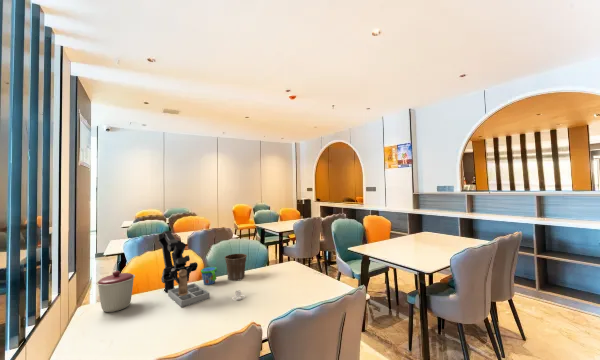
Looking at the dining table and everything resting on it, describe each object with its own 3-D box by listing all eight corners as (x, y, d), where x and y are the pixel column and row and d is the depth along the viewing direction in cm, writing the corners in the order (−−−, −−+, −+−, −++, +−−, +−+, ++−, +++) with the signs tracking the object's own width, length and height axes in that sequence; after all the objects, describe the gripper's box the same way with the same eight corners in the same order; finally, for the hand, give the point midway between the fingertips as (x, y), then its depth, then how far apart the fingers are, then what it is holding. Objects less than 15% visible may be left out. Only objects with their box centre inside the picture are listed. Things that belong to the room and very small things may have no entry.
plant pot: (252, 276, 196) (251, 254, 197) (236, 283, 183) (235, 260, 183) (236, 273, 205) (236, 252, 206) (220, 279, 191) (220, 257, 192)
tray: (168, 295, 164) (168, 290, 164) (194, 288, 175) (194, 283, 175) (181, 307, 146) (181, 301, 146) (209, 298, 157) (209, 292, 158)
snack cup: (198, 282, 187) (197, 268, 187) (212, 278, 194) (212, 265, 194) (205, 288, 175) (205, 273, 175) (220, 284, 181) (220, 269, 182)
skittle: (176, 295, 149) (175, 270, 150) (182, 291, 154) (182, 267, 155) (183, 296, 148) (183, 270, 148) (189, 292, 153) (189, 268, 153)
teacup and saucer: (241, 301, 152) (241, 294, 152) (228, 301, 154) (228, 294, 154) (247, 295, 161) (247, 289, 161) (235, 295, 162) (235, 288, 162)
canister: (89, 318, 138) (89, 277, 138) (105, 304, 155) (105, 268, 156) (128, 312, 142) (128, 273, 143) (139, 299, 160) (139, 264, 161)
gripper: (163, 254, 149) (168, 278, 140) (196, 248, 161) (203, 270, 152) (160, 265, 155) (165, 289, 146) (192, 259, 167) (198, 281, 158)
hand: (183, 282), depth 150 cm, fingers closed on skittle, 5 cm apart
